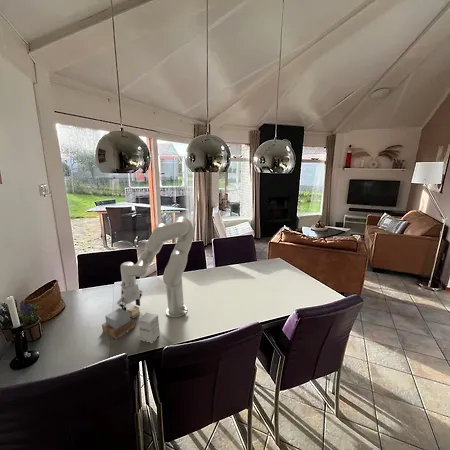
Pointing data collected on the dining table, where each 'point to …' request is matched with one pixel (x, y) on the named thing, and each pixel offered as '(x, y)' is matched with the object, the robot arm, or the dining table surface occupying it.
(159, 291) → the dining table surface
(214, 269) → the dining table surface
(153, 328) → the supplement box
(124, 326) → the base block
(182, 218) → the robot arm
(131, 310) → the ash cube
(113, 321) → the top block
